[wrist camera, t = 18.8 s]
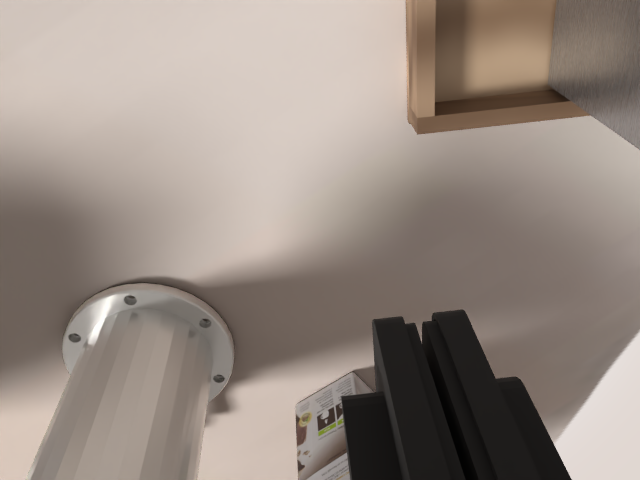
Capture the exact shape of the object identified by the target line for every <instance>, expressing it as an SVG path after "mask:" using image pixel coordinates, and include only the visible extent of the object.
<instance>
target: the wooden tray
mask: <svg viewBox="0 0 640 480" xmlns="http://www.w3.org/2000/svg"><path fill="white" fill-rule="evenodd" d="M556 2H557V0H406V42H407V112H408V122H409V124H412V126H413V128H414V129H415V131H416V133H417V134H425V133H435V132H444V131H453V130H462V129H471V128H480V127H489V126H498V125H508V124H517V123H526V122H535V121H544V120H553V119H562V118H572V117H581V116H590V114H588V113H587V112H586V111H584V110H583V109H581V108H580V107H578V106H577V105H576V104H574V103H573V102H571V101H570V100H569V99H567V98H566V97H564V96H563V95H561V94H560V93H559V92H557V91H556V90H554V89H553V88H552V87H550V86H549V85H547V84H548V75H549V66H550V57H551V48H552V39H553V30H554V21H555V12H556Z"/></svg>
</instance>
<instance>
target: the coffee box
mask: <svg viewBox="0 0 640 480" xmlns="http://www.w3.org/2000/svg"><path fill="white" fill-rule="evenodd" d="M365 393H374V392H373V391H372V390H371V389H370V388H369V387H368V386H367V385H366V384H365V383H364V382H363V381H362V380H361V379H360V378H359V377H358V376H357V375H356V374H355V373H354V372H351V373H349V374H348V375H346V376H344V377H342V378H341V379H339V380H337V381H336V382H334V383H332V384H330V385H329V386H327V387H325V388H324V389H322V390H320V391H318V392H317V393H315V394H313V395H311V396H310V397H308V398H306V399H305V400H303V401H301V402H300V403H298V404H297V405H296V434H297V462H298V480H350V475H349V466H348V458H347V450H346V441H345V432H344V422H343V412H342V402H341V396H348V395H357V394H365Z"/></svg>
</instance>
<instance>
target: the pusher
mask: <svg viewBox="0 0 640 480" xmlns="http://www.w3.org/2000/svg"><path fill="white" fill-rule="evenodd" d="M547 85H549V86H550V87H552V88H553V89H554V90H556V91H557V92H559V93H560V94H561V95H563V96H564V97H566V98H567V99H569V100H570V101H571V102H573V103H574V104H576V105H577V106H578V107H580V108H581V109H583V110H584V111H586V112H587V113H588V114H590V115H591V116H593V117H594V118H595V119H597V120H598V121H600V122H601V123H603V124H604V125H605V126H607V127H608V128H610V129H611V130H612V131H614V132H615V133H617V134H618V135H620V136H621V137H622V138H624V139H625V140H627V141H628V142H629V143H631V144H632V145H634V146H635V147H637V148H638V149H639V150H640V0H557V2H556V12H555V21H554V30H553V39H552V48H551V57H550V66H549V75H548V84H547Z"/></svg>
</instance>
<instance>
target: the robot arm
mask: <svg viewBox="0 0 640 480" xmlns="http://www.w3.org/2000/svg"><path fill="white" fill-rule="evenodd" d="M372 325H373V344H374V362H375V380H376V392H374V393H365V394H357V395H348V396H341V402H342V412H343V422H344V432H345V441H346V450H347V458H348V466H349V475H350V480H571V478H570V476H569V474H568V472H567V470H566V468H565V466H564V464H563V462H562V460H561V458H560V456H559V454H558V452H557V450H556V448H555V446H554V444H553V442H552V440H551V438H550V436H549V434H548V432H547V430H546V428H545V426H544V424H543V422H542V420H541V418H540V416H539V414H538V412H537V410H536V408H535V406H534V404H533V402H532V400H531V398H530V396H529V394H528V392H527V390H526V388H525V386H524V385H523V383H522V382H521V380H520V379H519V378H518V377H508V378H499V379H495V376H494V374H493V372H492V370H491V367H490V365H489V363H488V361H487V359H486V356H485V354H484V352H483V350H482V347H481V345H480V343H479V341H478V339H477V336H476V334H475V332H474V330H473V328H472V325H471V323H470V321H469V319H468V316H467V314H466V313H465V311H464V310H455V311H446V312H437V313H433V315H432V321H427V322H423V324H422V343H421V340H420V337H419V334H418V331H417V327H416V325H415V323H409V324H405V322H404V319H403V317H402V316H401V317H392V318H383V319H374V320H373V322H372ZM62 354H63V360H64V363H65V366H66V368H67V370H68V373H69V374H70V378H69V380H68V382H67V385H66V387H65V389H64V392H63V394H62V396H61V398H60V401H59V403H58V405H57V408H56V410H55V412H54V415H53V417H52V419H51V422H50V424H49V426H48V429H47V431H46V433H45V436H44V438H43V440H42V443H41V445H40V447H39V449H38V452H37V454H36V456H35V459H34V461H33V463H32V466H31V468H30V470H29V473H28V475H27V477H26V480H197V477H198V470H199V463H200V455H201V448H202V441H203V433H204V426H205V419H206V411H207V404H208V402H210V401H211V400H213V399H214V398H215V397H216V396H217V395H218V394H219V393H220V392H221V391H222V390H223V388H224V387H225V386H226V384H227V383H228V380H229V378H230V376H231V374H232V369H233V363H234V344H233V339H232V335H231V333H230V331H229V329H228V327H227V325H226V323H225V322H224V321H223V319H222V318H221V317H220V316H219V314H218V313H217V312H216V311H215V310H213V309H212V308H211V307H210V306H209V305H208V304H207V303H205V302H204V301H202V300H200V299H199V298H197V297H195V296H194V295H192V294H189V293H187V292H184V291H182V290H179V289H177V288H173V287H169V286H164V285H160V284H148V283H137V284H125V285H121V286H117V287H113V288H109V289H107V290H104V291H102V292H100V293H98V294H95V295H94V296H93V297H91V298H90V299H88V300H87V301H85V302H84V303H83V304H82V305H81V306H80V307H79V308H78V309H77V310H76V312H75V313H74V314H73V316H72V318H71V320H70V322H69V324H68V325H67V328H66V330H65V332H64V335H63V342H62Z"/></svg>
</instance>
